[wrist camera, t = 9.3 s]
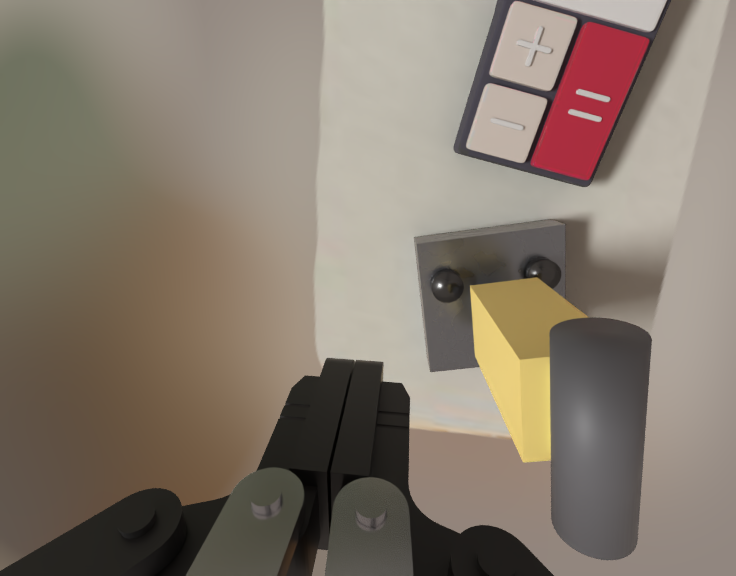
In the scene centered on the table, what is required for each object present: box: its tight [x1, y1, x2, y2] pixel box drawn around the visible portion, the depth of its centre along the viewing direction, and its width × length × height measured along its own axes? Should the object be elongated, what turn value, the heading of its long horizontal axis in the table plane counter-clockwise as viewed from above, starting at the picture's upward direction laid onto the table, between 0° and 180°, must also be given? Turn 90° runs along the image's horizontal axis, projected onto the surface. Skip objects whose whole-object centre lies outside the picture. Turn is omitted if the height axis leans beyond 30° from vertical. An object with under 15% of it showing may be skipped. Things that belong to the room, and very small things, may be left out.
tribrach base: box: [414, 219, 565, 372], centre depth 36 cm, size 12×12×4 cm
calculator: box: [454, 0, 671, 187], centre depth 31 cm, size 11×4×15 cm
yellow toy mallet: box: [470, 277, 652, 560], centre depth 25 cm, size 10×5×18 cm, turn 8°
